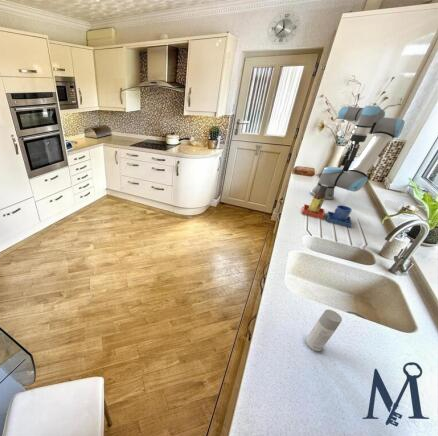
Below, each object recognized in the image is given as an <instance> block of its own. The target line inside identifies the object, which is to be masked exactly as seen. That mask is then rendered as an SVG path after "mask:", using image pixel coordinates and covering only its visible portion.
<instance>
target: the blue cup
mask: <svg viewBox="0 0 438 436" xmlns="http://www.w3.org/2000/svg"><path fill="white" fill-rule="evenodd" d="M352 210H353V209H352V208H351V207H349V206H346V205H342V204H339V205H336V208H335V209H334V211H333V215H332V218H331V219H334V220H338V221H342V222H346V220H347V218H348V216H350V215H351V213H352Z"/></svg>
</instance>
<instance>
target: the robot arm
mask: <svg viewBox="0 0 438 436" xmlns="http://www.w3.org/2000/svg"><path fill="white" fill-rule="evenodd" d="M337 119H339V120H344V121H345V120H346V121H347V122H348V123H351V124H352V125H354V127H353V128H352V130H353V131H352V134H350V137H349V139H348V140H349V141H350V143H349V145H348V146H347V149H346V151H345V152H344V157H343V158H342V161H341V162H340V166H342V167H336V166H327V167H324V169H323V171H322V172H321V173H320V174H319V175H318V178H319V179H318V182H317V184H316V185H315V186H314V187H313V188H312V189H311V192H310V194H311V195H312V196H313V197H314V195H315V193H316V192H318V191H319V189H320V186H321V184H324V185H327V186H328V188H327V190H326V192H325V199H324V200H332V199H333V198H334V197H335V188H336V187H337V188H340V189H343V190H347V191H349V192H353V193H354V192H358V191H361V189H362V188H363V187H364V186H365V185H366V183H367V182H368V179H369V178H368V174H367V173H368V171H369V169H370V168H371V166H372V165H373V164H374V162H375V161H376V160H377V158H378V157H379V155H380V154H381V153H382V151H383V150H384V148H385V147H386V145H387V144H388V143H389V142H392V141H393V140H394V139H398V138H399V137H400V135H401V134H402V132H403V129H404V127H405V123H406V121H405V119H401V118H396V117H395V118H394V117H386V111H385V110H384V109H382V107H381V106H379V105H364V107H358V106H357V107H356V106H349V105H348V106H342V107H341V108H340V109H339V111H338V113H337ZM368 135H371V137H372V139H371V140H370V142H369V143H368V145H367V146H366V148H365V149H364V150H363V152H362V154H360V156H359V158H358V159H357V161H356V162H355V164H353V167H352V168H350V167H351V165H352V163H353V162H354V161H355V158H356V156H357V153H358V151H359V148H360V143H364V142H366V140H367V138H368Z"/></svg>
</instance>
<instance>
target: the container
mask: <svg viewBox="0 0 438 436" xmlns="http://www.w3.org/2000/svg"><path fill="white" fill-rule="evenodd" d="M342 322H343V318H342V316H341V315H340V314H339V313H338V312H336V310H335V311H334V310H333V309H325V310H324V311H323V313H322V314H321V315H320V317H319V318H318V320H317V321H316V323H314V325H313V328H312V329H311V331H310V332H309V334H308V335H307V337H306V338H305V345H306V346H307V347H308V348H309V349H310V350H312V351H313V352H317V353H318V352H321V351H322V350H323V348H324V347H325V346H326V344H327V343H328V341H329V340H330V339H331V337H332V336H333V335H334V333H335V332H336V330H337V329H338V327H339V326H340V324H341V323H342Z"/></svg>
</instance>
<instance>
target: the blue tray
mask: <svg viewBox="0 0 438 436" xmlns="http://www.w3.org/2000/svg"><path fill="white" fill-rule="evenodd" d="M333 213H334V211H327V213H326V222H327V223H331V224H335V225H338V226H342V227H346V228H351V227H352V226H353V224H352V223H353V222H352V219H351V216H350V215H349V216H348V218H347V220H346V222H342V221H338V220H334V219H331V218H332V215H333Z"/></svg>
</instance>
